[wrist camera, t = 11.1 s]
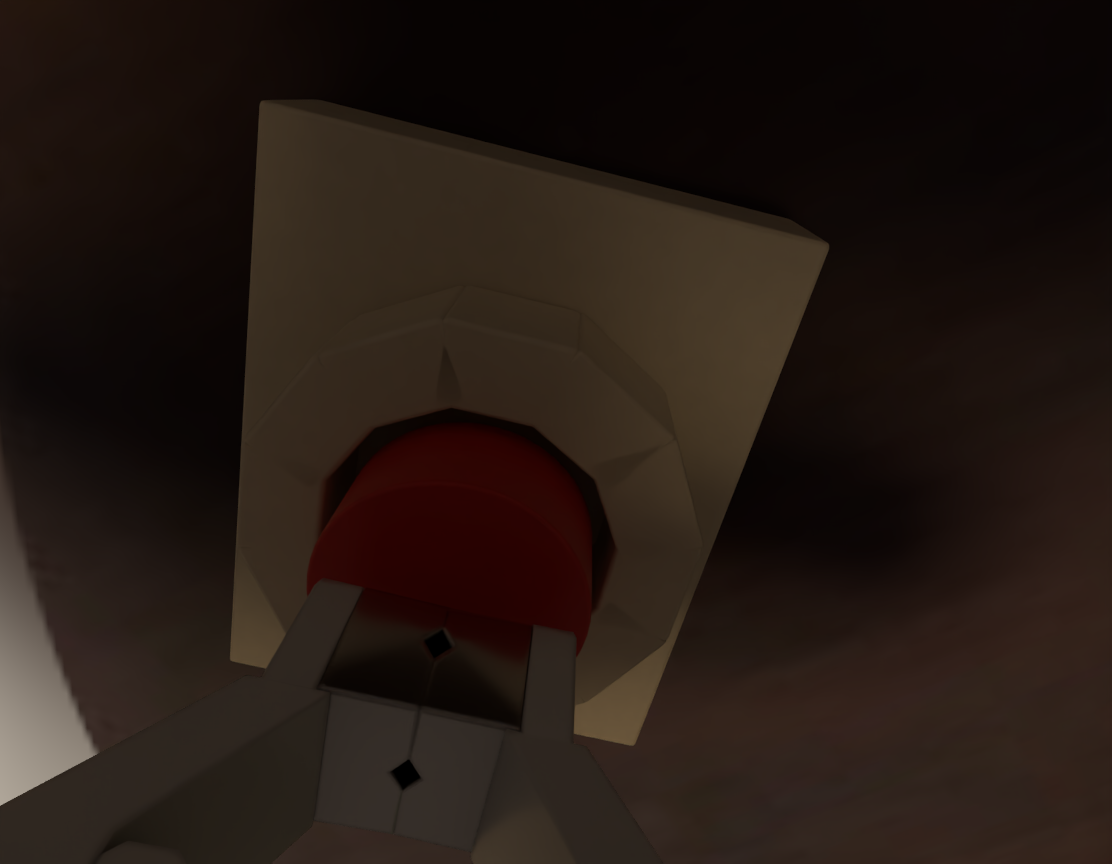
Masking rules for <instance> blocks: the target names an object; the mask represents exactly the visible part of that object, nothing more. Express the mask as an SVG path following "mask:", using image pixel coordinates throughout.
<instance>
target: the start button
mask: <svg viewBox="0 0 1112 864" xmlns="http://www.w3.org/2000/svg"><path fill="white" fill-rule="evenodd" d="M322 578H327V579H331V580H335V581H339V582H344V583H348V584H352V585H356V586H361V587H363V588H365V589H366V588H371V589H376V590H380V591H384V592H388V593H392V594H396V595H400V596H404V597H409V598H413V599H417V600H421V601H425V602H429V603H433V604H437V605H442V606H446V607H450V608H453V609H458V610H463V611H467V612H472V613H477V614H481V615H486V616H491V617H496V618H500V619H505V620H510V621H514V622H519V623H524V624H529V625H531V626H532V625H533V624H534V625H539V626H544V627H550V628H555V629H560V630H565V631H570V632H574V634H575V636H576V638H577V641H576V657H577V656H578V654H579V653H580V651H581V649H582V647H583V645H584V642H585V640H586V637H587V635H588V631H589V626H590V622H591V610H592V527H591V519H590V515H589V511H588V507H587V504H586V502H585V500H584V497H583V495H582V493H581V491H580V489H579V487H578V486H577V484H576V482H575V481H574V479H573V478H572V477H571V475H570V474H569V473H568V472H567V470H566V469H565V468H564V467H563V466H562V465H561V464H560V463H559V462H558V461H557V460H556V459H555V458H554V457H553V456H552V455H550V454H549V453H548V452H547V451H545V450H544V449H543V448H541V447H540V446H538V445H537V444H535V443H533V442H532V441H530V440H528V439H526V438H525V437H522V436H520V435H518V434H515V433H513V432H511V431H508V430H505V429H502V428H498V427H495V426H491V425H485V424H479V423H467V422H453V423H440V424H435V425H430V426H425V427H422V428H419V429H416V430H413V431H410V432H407V433H405V434H403V435H401V436H399V437H397V438H395V439H394V440H392V441H391V442H389V443H388V444H386V445H385V446H383V447H382V448H381V449H380V450H378V451H377V452H376V453H375V454H374V455H373V456H372V457H371V458H370V459H369V460H368V462H367V463H366V464H365V465H364V467H363V468H362V469H361V471H360V472H359V474H358V476H357V477H356V479H355V480H354V482H353V484H352V485H351V487H350V488H349V490H348V492H347V493H346V495H345V496H344V498H343V499H342V501H341V503H340V504H339V506H338V507H337V509H336V511H335V512H334V514H333V515H332V517H331V519H330V520H329V522H328V523H327V525H326V527H325V528H324V530H323V531H322V533H321V535H320V537H319V538H318V540H317V542H316V544H315V546H314V549H313V551H312V554H311V557H310V560H309V565H308V570H307V586H306V590H307V597H308V595H309V594H310V592H311V590H312V588H313V587H314V585H315V584H316V583H317V582H319V581H320V580H321V579H322Z"/></svg>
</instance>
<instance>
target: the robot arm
mask: <svg viewBox="0 0 1112 864" xmlns="http://www.w3.org/2000/svg"><path fill="white" fill-rule="evenodd" d="M576 641H577V638H576V636H575V634H574V632H570V631H565V630H560V629H555V628H550V627H544V626H539V625H534V624H533V625H532V626H531V625H529V624H524V623H519V622H514V621H510V620H505V619H500V618H496V617H491V616H486V615H481V614H477V613H472V612H467V611H463V610H458V609H453V608H450V607H446V606H442V605H437V604H433V603H429V602H425V601H421V600H417V599H413V598H409V597H404V596H400V595H396V594H392V593H388V592H384V591H380V590H376V589H371V588H366V589H365V588H363V587H361V586H356V585H352V584H348V583H344V582H339V581H335V580H331V579H327V578H322V579H321V580H320V581H319V582H317V583H316V584H315V585H314V587H313V588H312V590H311V592H310V594H309V595H308V597H307V599H306V601H305V602H304V604H303V606H302V607H301V609H300V611H299V613H298V614H297V616H296V618H295V619H294V621H293V623H292V625H291V626H290V628H289V630H288V632H287V633H286V635H285V637H284V638H283V640H282V642H281V644H280V645H279V647H278V649H277V650H276V652H275V654H274V656H273V657H272V659H271V661H270V663H269V664H268V666H267V668H266V669H265V671H264V673H263V675H262V676H261V678H259V677H254V676H249V675H246V676H244V677H242V678H240V679H238V680H236V681H234V682H233V683H231V684H229V685H227V686H225V687H223V688H221V689H219V690H217V691H216V692H214V693H212V694H210V695H208V696H206V697H204V698H202V699H201V700H199V701H197V702H195V703H193V704H191V705H189V706H187V707H185V708H184V709H182V710H180V711H178V712H176V713H174V714H172V715H170V716H168V717H167V718H165V719H163V720H161V721H159V722H157V723H155V724H153V725H152V726H150V727H148V728H146V729H144V730H142V731H140V732H138V733H136V734H135V735H133V736H131V737H129V738H127V739H125V740H123V741H121V742H120V743H118V744H116V745H114V746H112V747H110V748H108V749H106V750H104V751H103V752H101V753H99V754H97V755H95V756H93V757H91V758H89V759H88V760H86V761H84V762H82V763H80V764H78V765H76V766H74V767H72V768H71V769H69V770H67V771H65V772H63V773H61V774H59V775H57V776H55V777H54V778H52V779H50V780H48V781H46V782H44V783H42V784H40V785H39V786H37V787H35V788H33V789H31V790H29V791H27V792H25V793H23V794H22V795H20V796H18V797H16V798H14V799H12V800H10V801H8V802H7V803H5V804H3V805H1V806H0V864H271V863H272V862H273V861H274V860H275V859H276V858H278V857H279V856H280V855H281V854H282V853H283V852H284V851H285V850H286V849H287V848H289V847H290V846H291V845H292V844H293V843H294V842H295V841H296V840H297V839H298V838H300V837H301V836H302V835H303V834H304V833H305V832H306V831H307V830H308V829H309V828H311V827H312V824H313V821H319V822H325V823H330V824H336V825H342V826H348V827H354V828H360V829H366V830H372V831H378V832H383V833H389V834H394V835H399V836H403V837H407V838H412V839H416V840H420V841H425V842H429V843H433V844H438V845H442V846H446V847H451V848H455V849H459V850H464V851H468V852H471V856H470V857H471V860H472V862H473V864H664V863H663V862H662V860H661V859H660V857H659V856H658V854H657V853H656V851H655V850H654V848H653V846H652V845H651V843H650V842H649V840H648V839H647V837H646V836H645V834H644V833H643V831H642V830H641V828H640V827H639V825H638V824H637V822H636V821H635V819H634V818H633V816H632V815H631V813H630V811H629V810H628V808H627V807H626V805H625V804H624V802H623V801H622V799H621V798H620V796H619V795H618V793H617V792H616V790H615V789H614V787H613V786H612V784H611V783H610V781H609V780H608V778H607V776H606V775H605V773H604V772H603V770H602V769H601V767H600V766H599V764H598V763H597V761H596V760H595V758H594V757H593V755H592V754H591V752H590V751H589V749H588V748H587V747H586V746H582V745H578V744H574V711H575V676H576Z"/></svg>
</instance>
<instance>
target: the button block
mask: <svg viewBox="0 0 1112 864" xmlns="http://www.w3.org/2000/svg"><path fill="white" fill-rule="evenodd" d="M828 250H829V244H828V243H827V242H825V241H824V240H822V239H821V238H819V237H818V236H816V235H814V234H813V233H811V232H810V231H808V230H806V229H805V228H803V227H802V226H800V225H798V224H797V223H795V222H794V221H792V220H790V219H787V218H783V217H779V216H775V215H771V214H767V213H763V212H760V211H756V210H752V209H748V208H744V207H740V206H736V205H732V204H728V203H724V202H720V201H716V200H712V199H708V198H704V197H700V196H697V195H693V194H689V193H685V192H681V191H677V190H673V189H669V188H665V187H661V186H657V185H653V184H649V183H645V182H641V181H637V180H634V179H630V178H626V177H622V176H618V175H614V174H610V173H606V172H602V171H598V170H594V169H590V168H586V167H582V166H578V165H574V164H571V163H567V162H563V161H559V160H555V159H551V158H547V157H543V156H539V155H535V154H531V153H527V152H523V151H519V150H515V149H512V148H508V147H504V146H500V145H496V144H492V143H488V142H484V141H480V140H476V139H472V138H468V137H464V136H460V135H456V134H452V133H449V132H445V131H441V130H437V129H433V128H429V127H425V126H421V125H417V124H413V123H409V122H405V121H401V120H397V119H393V118H389V117H386V116H382V115H378V114H374V113H370V112H366V111H362V110H358V109H354V108H350V107H346V106H342V105H338V104H334V103H330V102H326V101H323V100H264V101H261V103H260V106H259V125H258V144H257V162H256V181H255V200H254V218H253V237H252V256H251V274H250V293H249V312H248V331H247V349H246V368H245V387H244V405H243V424H242V443H241V461H240V480H239V499H238V517H237V536H236V555H235V574H234V592H233V611H232V630H231V648H230V660H231V661H233V662H237V663H242V664H247V665H252V666H256V667H261V668H267V666H268V664H269V663H270V661H271V659H272V657H273V656H274V654H275V652H276V650H277V649H278V647H279V645H280V644H281V642H282V640H283V638H284V637H285V635H286V633H287V632H288V630H289V628H290V626H291V625H292V623H293V621H294V619H295V618H296V616H297V614H298V613H299V611H300V609H301V607H302V606H303V604H304V602H305V601H306V599H307V590H306V586H307V570H308V565H309V560H310V557H311V554H312V551H313V549H314V546H315V544H316V542H317V540H318V538H319V537H320V535H321V533H322V531H323V530H324V528H325V527H326V525H327V523H328V522H329V520H330V519H331V517H332V515H333V514H334V512H335V511H336V509H337V507H338V506H339V504H340V503H341V501H342V499H343V498H344V496H345V495H346V493H347V492H348V490H349V488H350V487H351V485H352V484H353V482H354V480H355V479H356V477H357V476H358V474H359V472H360V471H361V469H362V468H363V467H364V465H365V464H366V463H367V462H368V460H369V459H370V458H371V457H372V456H373V455H374V454H375V453H376V452H377V451H378V450H380V449H381V448H382V447H383V446H385V445H386V444H388V443H389V442H391V441H392V440H394V439H395V438H397V437H399V436H401V435H403V434H405V433H407V432H410V431H413V430H416V429H419V428H422V427H425V426H430V425H435V424H440V423H453V422H467V423H479V424H485V425H491V426H495V427H498V428H502V429H505V430H508V431H511V432H513V433H515V434H518V435H520V436H522V437H525V438H526V439H528V440H530V441H532V442H533V443H535V444H537V445H538V446H540V447H541V448H543V449H544V450H545V451H547V452H548V453H549V454H550V455H552V456H553V457H554V458H555V459H556V460H557V461H558V462H559V463H560V464H561V465H562V466H563V467H564V468H565V469H566V470H567V472H568V473H569V474H570V475H571V477H572V478H573V479H574V481H575V482H576V484H577V486H578V487H579V489H580V491H581V493H582V495H583V497H584V500H585V502H586V504H587V507H588V511H589V515H590V519H591V527H592V610H591V622H590V626H589V631H588V635H587V637H586V640H585V642H584V645H583V647H582V649H581V651H580V653H579V654H578V656H577V657H576V676H575V711H574V734H578V735H583V736H588V737H592V738H597V739H602V740H606V741H611V742H616V743H621V744H625V745H630V746H633V745H635V743H636V741H637V738H638V735H639V733H640V730H641V728H642V725H643V723H644V720H645V718H646V715H647V713H648V710H649V707H650V705H651V702H652V700H653V697H654V695H655V692H656V690H657V687H658V684H659V682H660V679H661V677H662V674H663V672H664V669H665V667H666V664H667V661H668V659H669V656H670V654H671V651H672V649H673V646H674V644H675V641H676V638H677V636H678V633H679V631H680V628H681V626H682V623H683V621H684V618H685V615H686V613H687V610H688V608H689V605H690V603H691V600H692V598H693V595H694V592H695V590H696V587H697V585H698V582H699V580H700V577H701V575H702V572H703V570H704V567H705V564H706V562H707V559H708V557H709V554H710V552H711V549H712V547H713V544H714V541H715V539H716V536H717V534H718V531H719V529H720V526H721V524H722V521H723V518H724V516H725V513H726V511H727V508H728V506H729V503H730V501H731V498H732V495H733V493H734V490H735V488H736V485H737V483H738V480H739V478H740V475H741V472H742V470H743V467H744V465H745V462H746V460H747V457H748V455H749V452H750V449H751V447H752V444H753V442H754V439H755V437H756V434H757V432H758V429H759V427H760V424H761V421H762V419H763V416H764V414H765V411H766V409H767V406H768V404H769V401H770V398H771V396H772V393H773V391H774V388H775V386H776V383H777V381H778V378H779V375H780V373H781V370H782V368H783V365H784V363H785V360H786V358H787V355H788V352H789V350H790V347H791V345H792V342H793V340H794V337H795V335H796V332H797V329H798V327H799V324H800V322H801V319H802V317H803V314H804V312H805V309H806V306H807V304H808V301H809V299H810V296H811V294H812V291H813V289H814V286H815V283H816V281H817V278H818V276H819V273H820V271H821V268H822V266H823V263H824V261H825V258H826V255H827V253H828Z"/></svg>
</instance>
